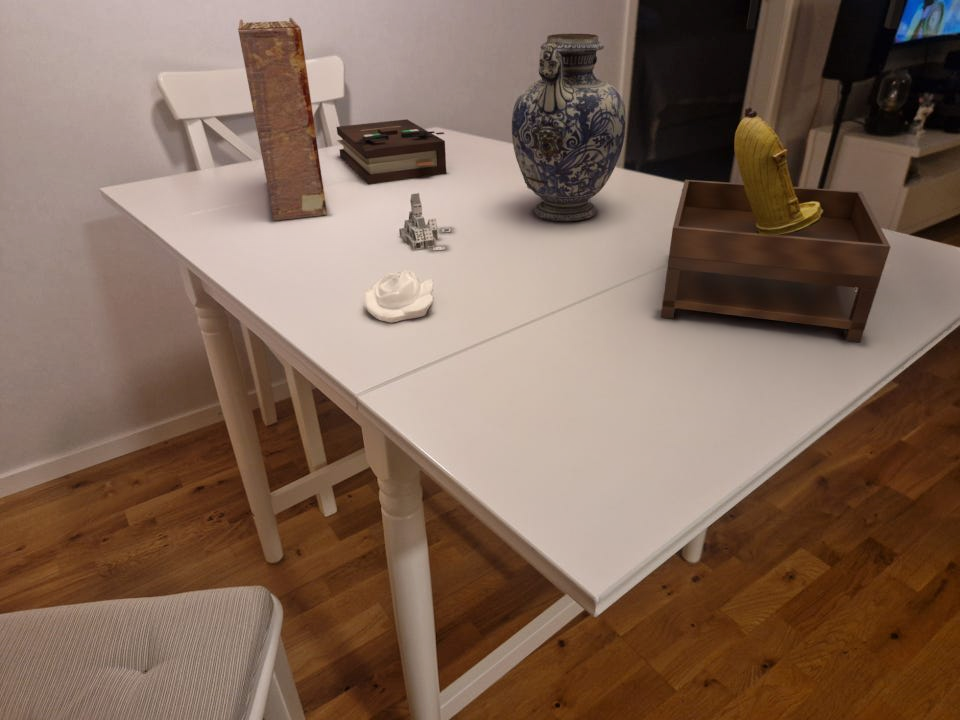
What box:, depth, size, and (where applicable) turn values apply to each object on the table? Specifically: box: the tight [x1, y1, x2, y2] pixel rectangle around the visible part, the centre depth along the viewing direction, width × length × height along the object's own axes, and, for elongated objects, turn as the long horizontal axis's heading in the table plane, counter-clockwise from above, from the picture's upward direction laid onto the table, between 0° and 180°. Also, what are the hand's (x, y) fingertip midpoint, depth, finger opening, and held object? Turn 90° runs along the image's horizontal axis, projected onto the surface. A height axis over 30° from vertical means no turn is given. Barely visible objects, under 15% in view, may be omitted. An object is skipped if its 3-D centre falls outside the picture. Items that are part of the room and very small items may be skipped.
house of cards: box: [398, 192, 451, 251], centre depth 103 cm, size 9×9×8 cm
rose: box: [363, 269, 434, 323], centre depth 84 cm, size 10×4×10 cm
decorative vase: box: [511, 33, 627, 223], centre depth 108 cm, size 21×19×28 cm
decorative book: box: [336, 119, 447, 185], centre depth 144 cm, size 19×8×30 cm
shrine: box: [733, 106, 823, 236], centre depth 77 cm, size 12×8×15 cm
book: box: [237, 17, 328, 222], centre depth 118 cm, size 25×9×30 cm, turn 17°
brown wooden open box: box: [660, 179, 891, 343], centre depth 82 cm, size 22×20×12 cm
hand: (818, 28), depth 70 cm, fingers open, 13 cm apart
